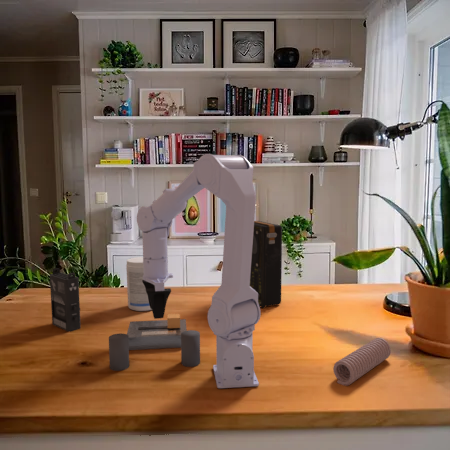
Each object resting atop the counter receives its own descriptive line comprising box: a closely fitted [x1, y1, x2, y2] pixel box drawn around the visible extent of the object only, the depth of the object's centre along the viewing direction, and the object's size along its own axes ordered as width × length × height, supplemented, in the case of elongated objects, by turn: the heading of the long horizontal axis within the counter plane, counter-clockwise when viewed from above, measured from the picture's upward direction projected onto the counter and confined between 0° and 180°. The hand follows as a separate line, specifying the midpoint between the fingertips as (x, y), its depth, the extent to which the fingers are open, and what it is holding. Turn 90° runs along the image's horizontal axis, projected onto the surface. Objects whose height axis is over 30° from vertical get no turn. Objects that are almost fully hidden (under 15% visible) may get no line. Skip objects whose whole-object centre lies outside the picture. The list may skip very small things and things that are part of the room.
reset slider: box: [166, 313, 181, 328], centre depth 108 cm, size 3×3×2 cm
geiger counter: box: [49, 267, 82, 332], centre depth 117 cm, size 10×5×15 cm, turn 48°
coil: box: [332, 337, 392, 387], centre depth 91 cm, size 5×5×18 cm
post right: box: [180, 329, 201, 368], centre depth 95 cm, size 4×4×6 cm
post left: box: [108, 333, 130, 372], centre depth 93 cm, size 4×4×6 cm
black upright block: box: [250, 220, 283, 309], centre depth 139 cm, size 16×9×25 cm, turn 25°
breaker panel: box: [126, 318, 188, 351], centre depth 108 cm, size 11×14×3 cm
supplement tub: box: [125, 256, 152, 312], centre depth 133 cm, size 10×10×15 cm
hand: (156, 312), depth 106 cm, fingers open, 7 cm apart
